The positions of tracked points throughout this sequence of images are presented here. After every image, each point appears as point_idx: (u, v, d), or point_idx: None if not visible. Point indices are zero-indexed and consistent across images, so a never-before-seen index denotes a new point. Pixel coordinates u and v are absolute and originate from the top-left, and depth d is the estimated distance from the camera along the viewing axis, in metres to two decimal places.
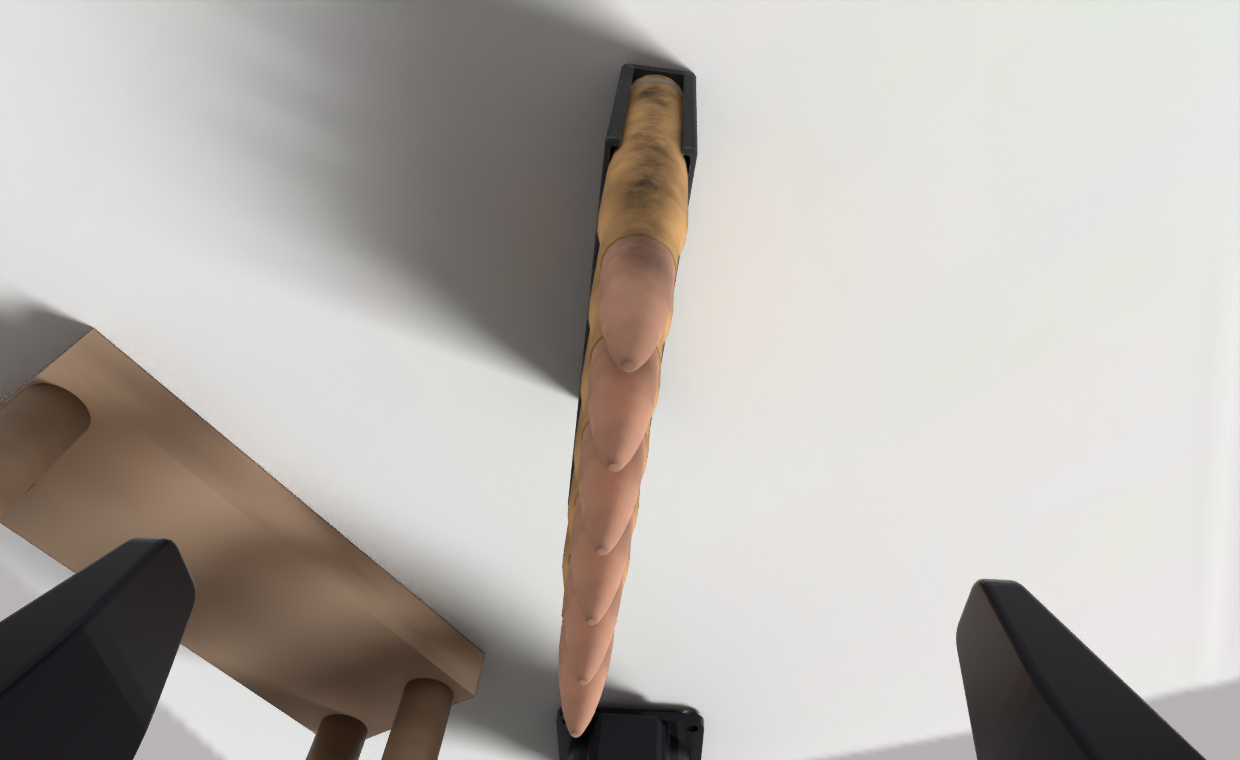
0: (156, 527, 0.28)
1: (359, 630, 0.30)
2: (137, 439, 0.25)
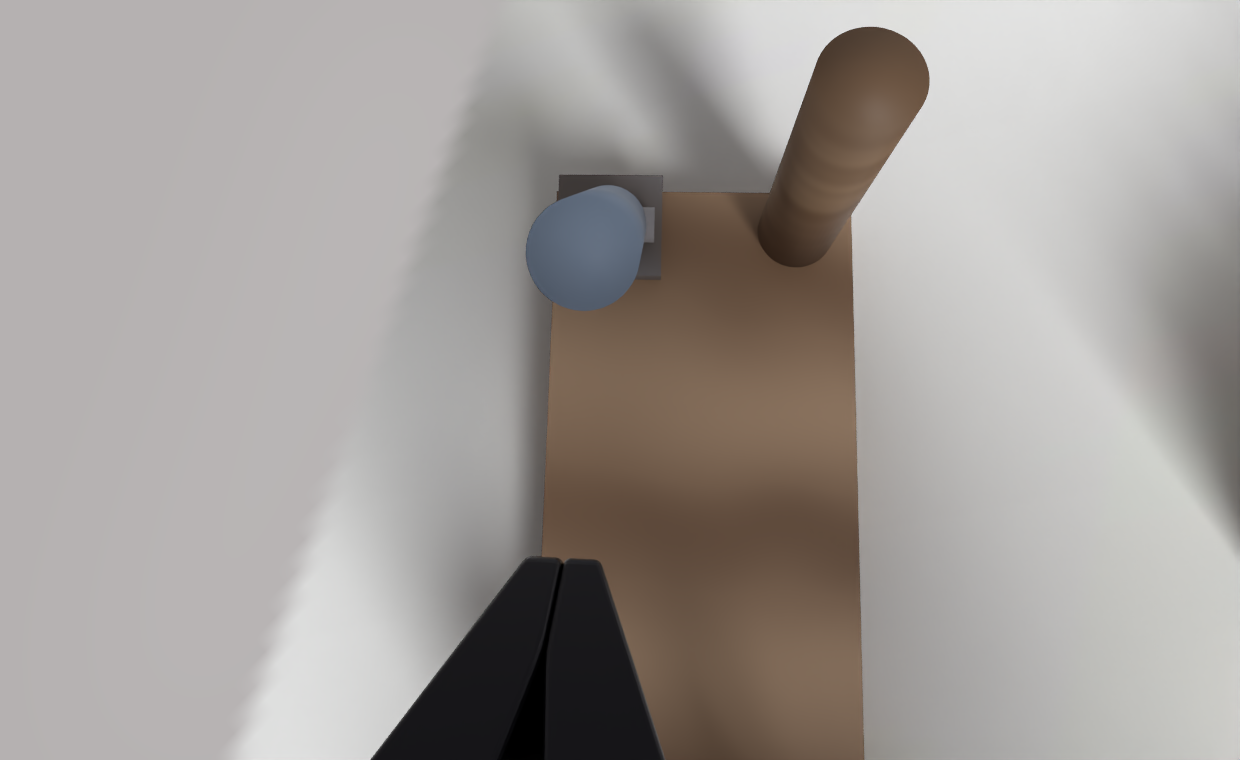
0: (730, 411, 0.21)
1: (819, 729, 0.19)
2: (839, 310, 0.21)
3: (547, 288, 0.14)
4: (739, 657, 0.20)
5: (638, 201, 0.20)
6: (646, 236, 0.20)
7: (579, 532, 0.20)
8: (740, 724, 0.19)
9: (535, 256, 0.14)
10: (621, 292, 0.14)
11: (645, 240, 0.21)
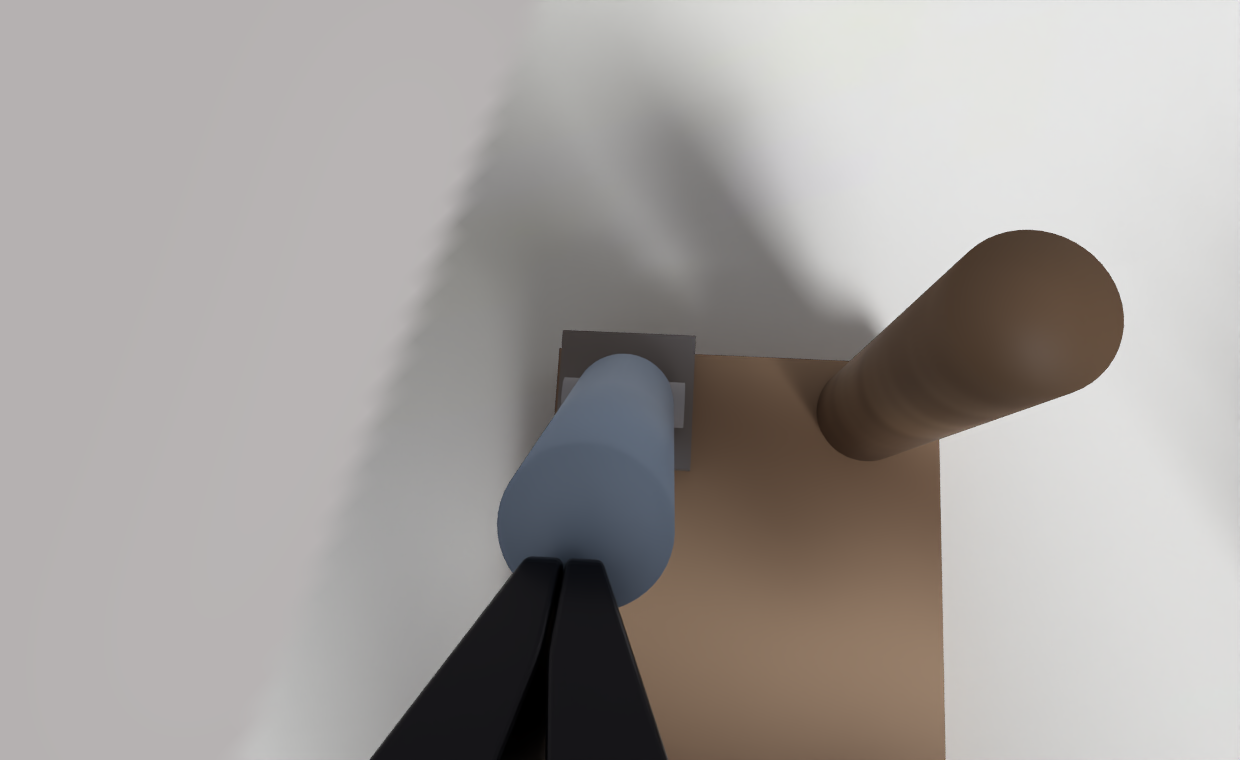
0: (777, 655, 0.16)
1: None
2: (923, 521, 0.16)
3: None
4: None
5: (664, 377, 0.15)
6: (673, 422, 0.16)
7: None
8: None
9: (511, 529, 0.09)
10: (643, 588, 0.09)
11: None
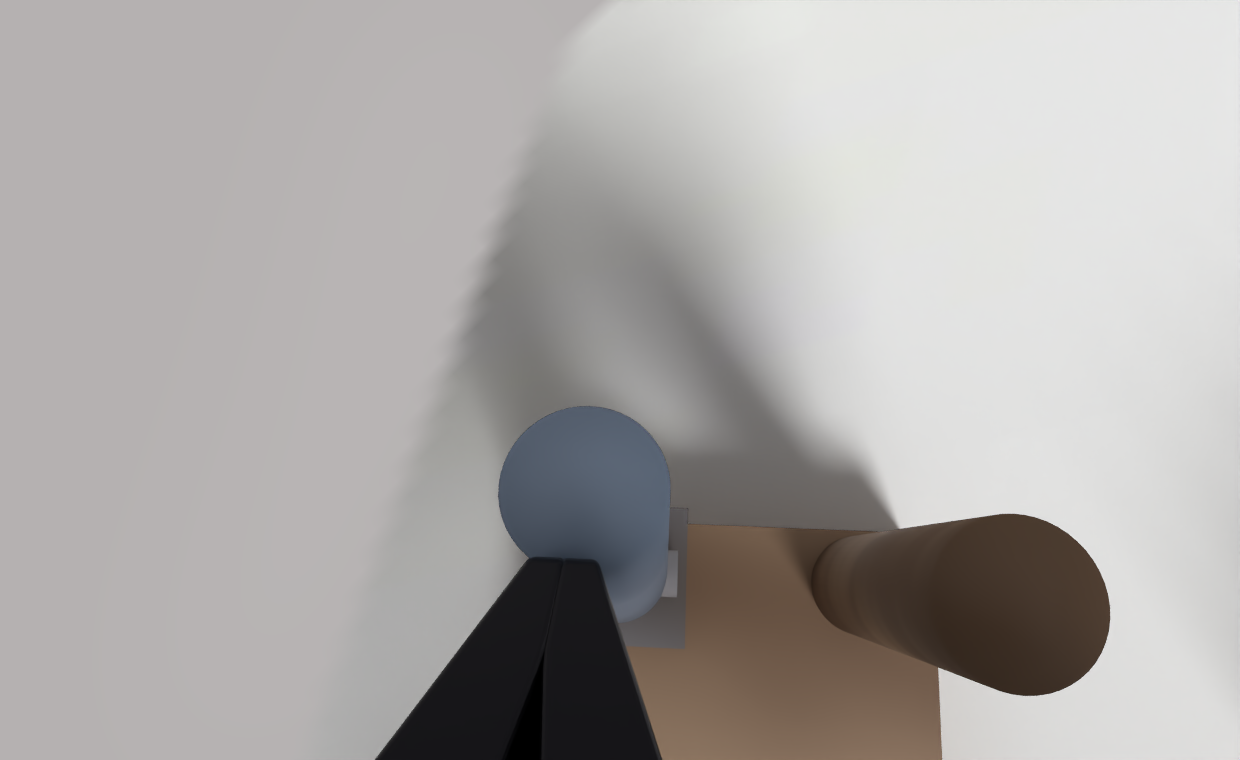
0: None
1: None
2: (921, 698, 0.16)
3: (525, 537, 0.09)
4: None
5: None
6: (667, 585, 0.15)
7: None
8: None
9: (512, 489, 0.09)
10: (640, 547, 0.09)
11: (665, 591, 0.15)
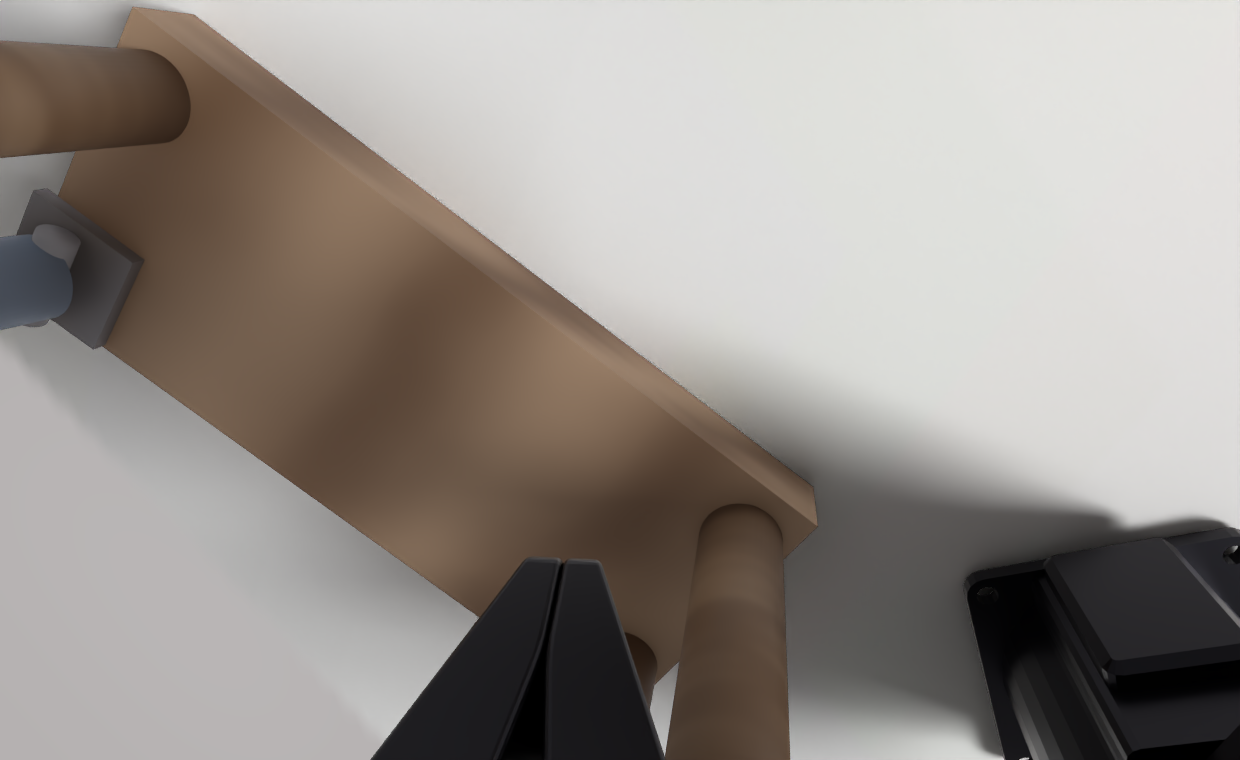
0: (297, 289, 0.19)
1: (607, 419, 0.19)
2: (250, 114, 0.18)
3: None
4: (509, 435, 0.19)
5: None
6: (50, 252, 0.18)
7: (335, 477, 0.21)
8: (561, 473, 0.19)
9: None
10: None
11: (58, 255, 0.18)
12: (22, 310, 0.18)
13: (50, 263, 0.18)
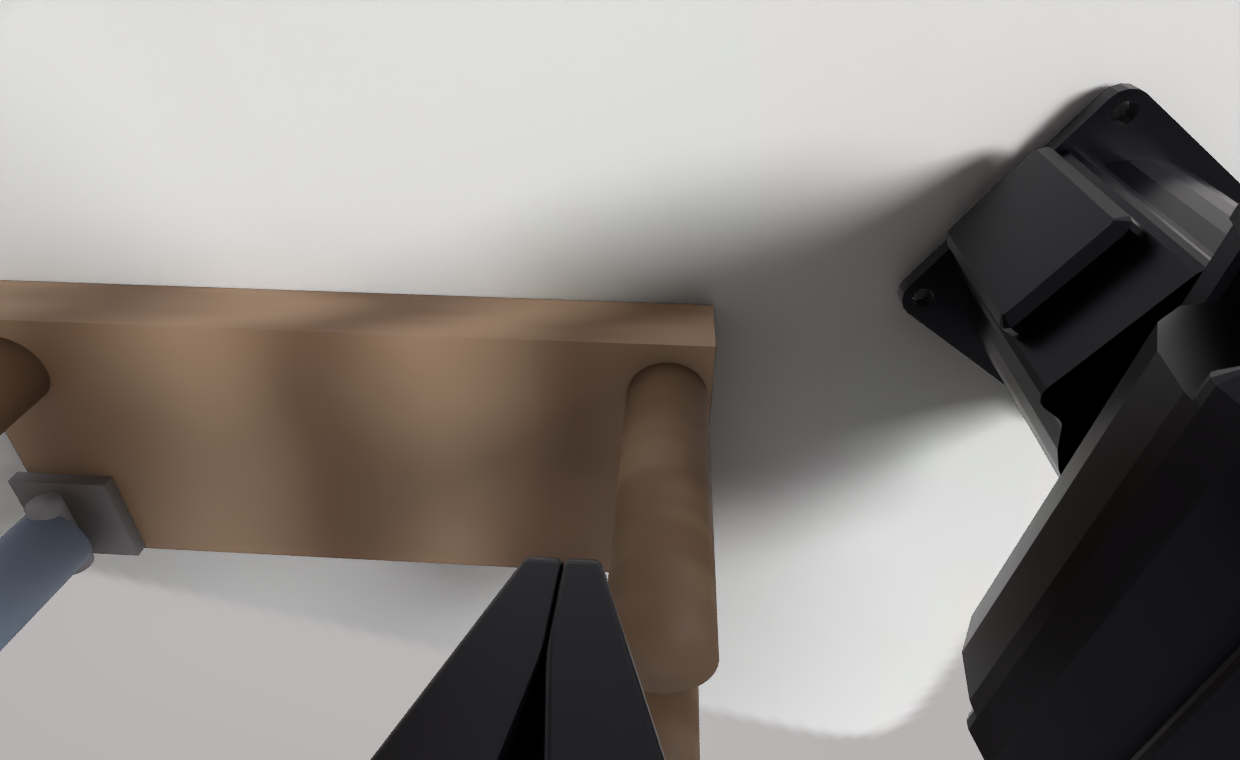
0: (214, 429, 0.21)
1: (492, 374, 0.20)
2: (73, 334, 0.20)
3: None
4: (438, 432, 0.21)
5: (18, 522, 0.22)
6: (44, 518, 0.22)
7: (357, 537, 0.23)
8: (496, 434, 0.21)
9: None
10: None
11: (52, 516, 0.22)
12: (56, 571, 0.21)
13: (50, 526, 0.22)
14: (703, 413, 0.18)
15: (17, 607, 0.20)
